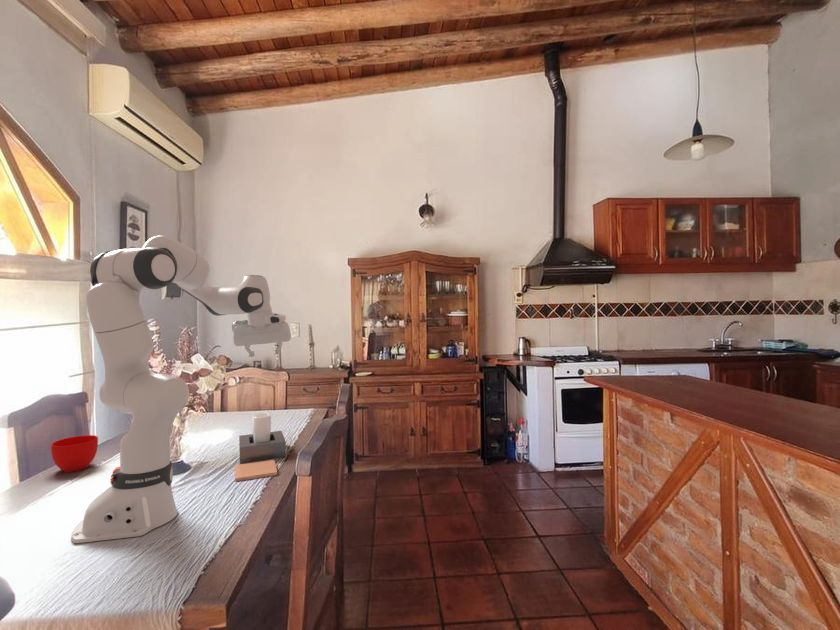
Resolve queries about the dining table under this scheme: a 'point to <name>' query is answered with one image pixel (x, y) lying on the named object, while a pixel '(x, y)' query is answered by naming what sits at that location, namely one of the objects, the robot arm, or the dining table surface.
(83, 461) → the red bowl
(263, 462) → the terracotta tile
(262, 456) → the holder block
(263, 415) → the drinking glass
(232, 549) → the dining table surface
